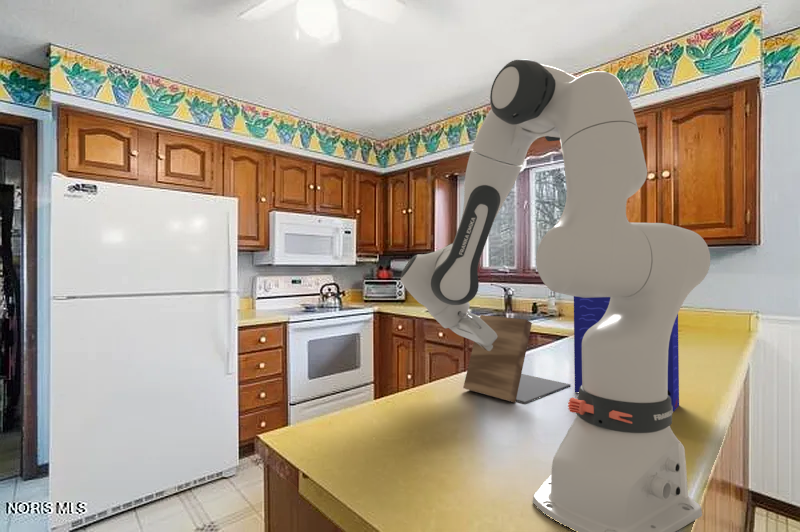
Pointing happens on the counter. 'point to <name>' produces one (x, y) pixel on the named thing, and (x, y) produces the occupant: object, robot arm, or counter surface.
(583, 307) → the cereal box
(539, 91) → the robot arm
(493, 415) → the counter surface
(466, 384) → the board
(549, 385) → the mat
